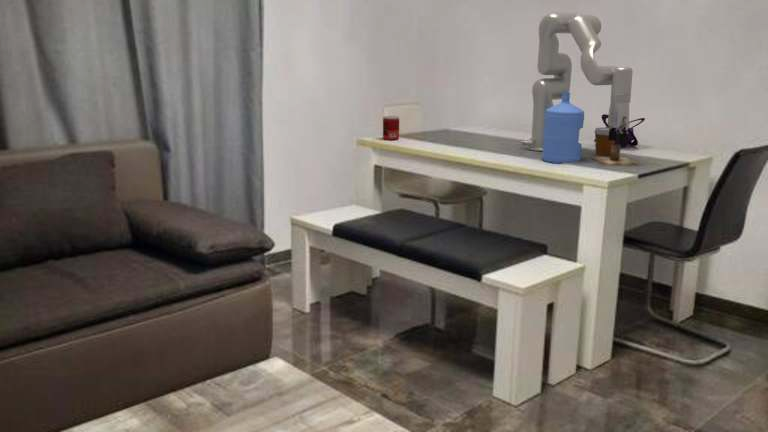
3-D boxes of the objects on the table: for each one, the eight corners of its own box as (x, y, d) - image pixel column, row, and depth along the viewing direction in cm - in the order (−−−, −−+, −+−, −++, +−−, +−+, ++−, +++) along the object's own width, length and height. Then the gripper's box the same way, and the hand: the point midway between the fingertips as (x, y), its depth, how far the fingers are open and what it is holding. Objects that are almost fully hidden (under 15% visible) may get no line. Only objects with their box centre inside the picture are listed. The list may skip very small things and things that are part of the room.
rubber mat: (600, 168, 285) (600, 165, 285) (585, 161, 300) (585, 158, 300) (644, 167, 287) (644, 165, 287) (626, 160, 302) (627, 158, 302)
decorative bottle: (652, 149, 332) (657, 94, 326) (612, 151, 326) (617, 95, 319) (622, 142, 353) (627, 90, 346) (584, 143, 346) (589, 90, 340)
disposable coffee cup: (611, 159, 305) (614, 131, 302) (589, 157, 310) (591, 129, 307) (617, 156, 313) (620, 128, 310) (595, 154, 318) (598, 126, 315)
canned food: (401, 139, 354) (402, 116, 351) (393, 141, 347) (393, 118, 344) (388, 137, 358) (388, 115, 355) (379, 139, 351) (380, 117, 348)
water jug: (557, 165, 290) (562, 94, 283) (534, 158, 304) (538, 91, 297) (588, 162, 296) (594, 93, 289) (564, 156, 310) (569, 90, 303)
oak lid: (604, 165, 286) (606, 148, 284) (591, 159, 299) (592, 142, 298) (638, 165, 287) (640, 148, 286) (623, 158, 301) (625, 142, 299)
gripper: (602, 97, 295) (599, 139, 299) (620, 100, 278) (617, 145, 282) (620, 97, 296) (617, 139, 300) (639, 100, 279) (635, 144, 283)
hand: (617, 142), depth 291 cm, fingers open, 9 cm apart
